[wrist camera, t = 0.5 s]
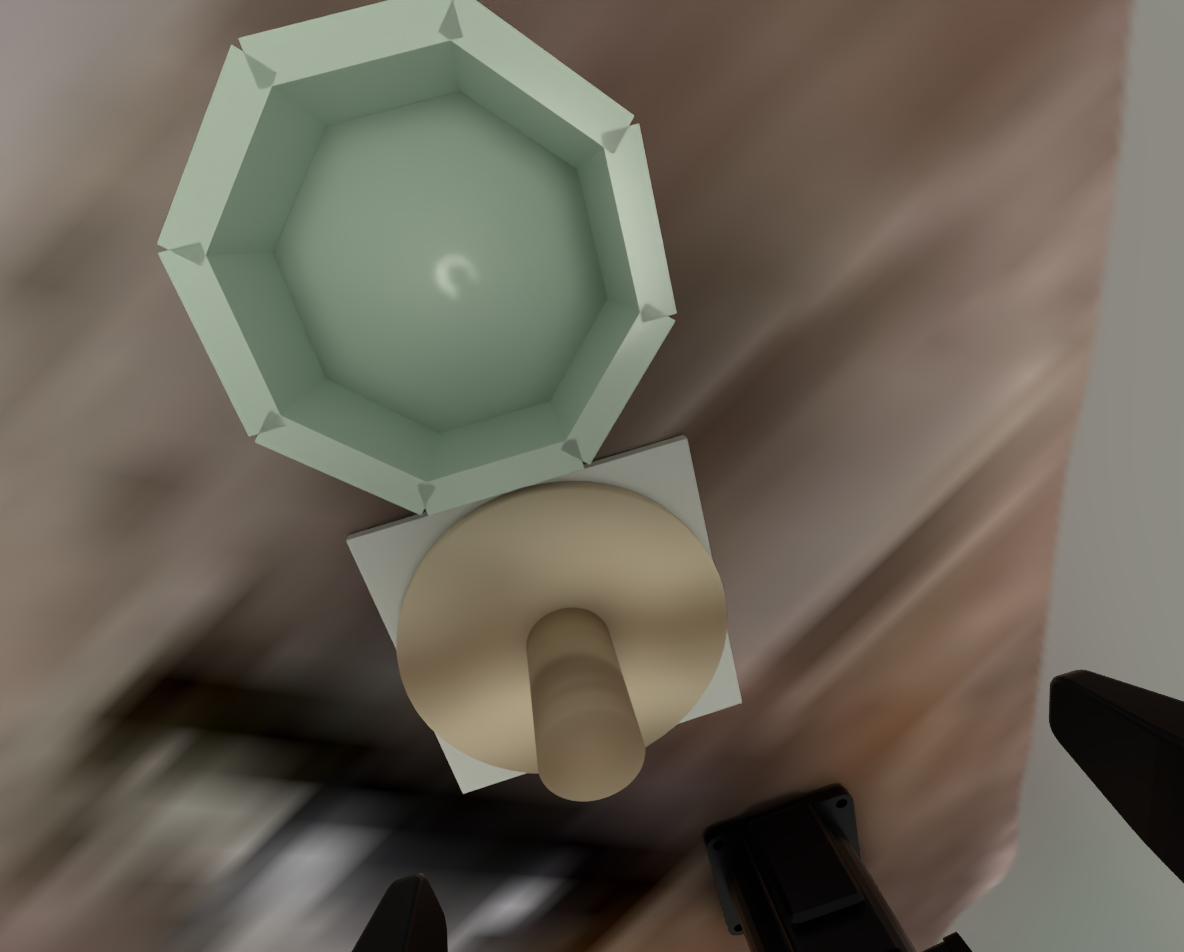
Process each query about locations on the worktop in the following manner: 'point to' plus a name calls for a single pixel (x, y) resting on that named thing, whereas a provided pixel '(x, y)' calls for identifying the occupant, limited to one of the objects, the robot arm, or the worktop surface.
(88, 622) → the worktop surface
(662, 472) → the mat
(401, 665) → the lid
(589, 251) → the bowl
